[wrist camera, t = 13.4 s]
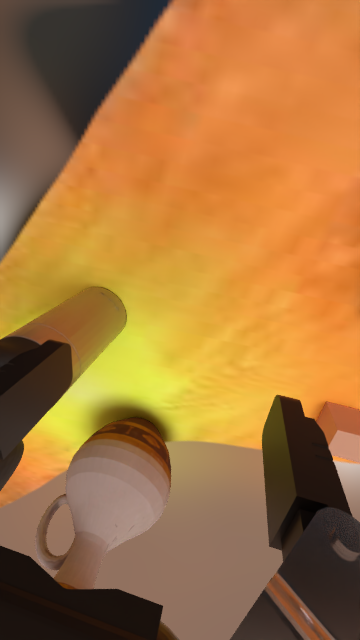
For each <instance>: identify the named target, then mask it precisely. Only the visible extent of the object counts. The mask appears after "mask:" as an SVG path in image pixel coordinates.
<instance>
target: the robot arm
mask: <svg viewBox="0 0 360 640" xmlns="http://www.w3.org/2000/svg"><path fill="white" fill-rule="evenodd" d="M125 324H126V311H125V308H124V305H123V304H122V302H121V301H120V299H119V298H118V297H117V296H116V295H115V294H113V293H112V292H111V291H109V290H107V289H104V288H101V287H91V288H88V289H85V290H84V291H82V292H80V293H79V294H77V295H75V296H74V297H72V298H70V299H68V300H67V301H65V302H63V303H62V304H60V305H58V306H56V307H55V308H53V309H51V310H50V311H48V312H46V313H45V314H43V315H41V316H40V317H38V318H36V319H34V320H33V321H31V322H29V323H28V324H26V325H24V326H23V327H21V328H19V329H18V330H16V331H14V332H13V333H11V334H9V335H8V336H6V337H4V338H3V339H1V340H0V491H1V489H2V488H3V487H4V485H5V484H6V483H7V481H8V480H9V478H10V477H11V476H12V474H13V472H14V471H15V469H16V468H17V466H18V464H19V462H20V460H21V458H22V455H23V451H24V444H23V441H22V439H23V438H24V437H25V436H26V435H27V434H28V433H29V431H30V430H31V429H32V428H33V427H34V426H35V425H36V424H37V423H38V422H39V420H40V419H41V418H42V417H43V416H44V415H45V414H46V413H47V412H48V411H49V410H50V409H51V408H52V407H53V406H54V405H55V404H56V403H57V401H58V400H59V399H60V398H61V397H62V396H63V395H64V394H65V393H66V391H67V390H68V389H69V388H70V387H71V386H72V385H73V384H74V383H75V381H76V380H77V379H78V378H79V377H80V376H81V375H82V374H83V373H84V371H85V370H86V369H87V368H88V367H89V366H90V365H91V364H92V363H93V362H94V361H95V359H96V358H97V357H98V356H99V355H100V354H101V353H102V352H103V351H104V350H105V348H106V347H107V346H108V345H109V344H110V343H111V342H112V341H113V340H114V339H115V338H116V336H117V335H118V334H119V333H120V332H121V331H122V330H123V328H124V327H125ZM262 450H263V464H264V478H265V492H266V506H267V521H268V534H269V546H270V547H273V548H276V549H279V550H282V554H283V563H282V565H281V566H280V568H279V569H278V571H277V572H276V574H275V575H274V577H273V578H271V580H270V581H269V583H268V584H267V586H266V587H265V588H264V590H263V591H262V593H261V594H260V596H259V597H258V599H257V600H256V602H255V603H254V605H253V606H252V608H251V609H250V611H249V612H248V613H247V615H246V616H245V618H244V619H243V621H242V622H241V624H240V625H239V627H238V628H237V630H236V631H235V633H234V634H233V636H232V637H231V639H230V640H360V522H359V521H357V520H356V519H355V518H354V517H353V516H352V514H351V512H350V508H349V506H348V502H347V500H346V496H345V494H344V491H343V488H342V485H341V482H340V479H339V476H338V473H337V470H336V467H335V464H334V462H333V458H332V455H331V452H330V450H329V446H328V443H327V440H326V437H325V434H324V432H323V431H322V429H321V428H320V427H319V425H318V424H317V423H316V421H315V420H314V419H312V418H308V417H305V416H304V412H303V408H302V405H301V402H300V400H297V399H293V398H289V397H285V396H281V395H276V397H275V399H274V401H273V404H272V406H271V409H270V412H269V414H268V417H267V420H266V422H265V425H264V429H263V435H262ZM162 609H163V606H162V605H159V604H156V603H154V602H151V601H148V600H145V599H143V598H140V597H138V596H135V595H132V594H129V593H127V592H124V591H121V590H119V589H66V588H64V587H62V586H61V585H60V584H59V583H58V582H57V581H55V580H54V579H53V578H52V577H51V576H50V575H49V574H48V573H47V572H46V571H45V570H44V569H42V568H41V567H40V566H39V565H38V564H37V563H36V562H35V561H34V560H33V559H32V558H31V557H29V556H26V555H24V554H21V553H19V552H16V551H13V550H10V549H8V548H5V547H2V546H0V640H179V639H178V638H177V637H176V635H175V634H174V633H173V632H172V631H171V630H170V629H169V628H168V627H167V626H166V625H164V623H162V622H161V621H160V619H161V614H162Z"/></svg>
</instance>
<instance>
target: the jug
mask: <svg viewBox="0 0 360 640" xmlns="http://www.w3.org/2000/svg"><path fill="white" fill-rule="evenodd" d="M170 487H171V465H170V459H169V452H168V449H167V447H166V445H165V442H164V440H163V438H162V436H161V435H160V433H159V431H158V430H157V428H156V427H155V426H154V425H153V424H152V423H151V422H150V421H148V420H146V419H143V418H139V417H133V418H128V419H123V420H119V421H116V422H112V423H110V424H108V425H106V426H105V427H103V428H102V429H100V430H99V431H97V432H96V433H94V434H93V435H92V436H91V437H90V438H89V439H88V440H87V441H86V442H85V443H84V444H83V445H82V446H81V447H80V449H79V450H78V451H77V452H76V454H75V455H74V457H73V459H72V461H71V463H70V466H69V468H68V470H67V474H66V494H64V495H61V496H59V497H58V498H56V499H55V500H54V501H53V503H52V504H51V505H50V506H49V507H48V508H47V510H46V512H45V513H44V515H43V516H42V518H41V520H40V523H39V525H38V528H37V533H36V540H35V547H36V553H37V557H38V559H39V561H40V563H41V564H42V565H43V566H45V567H46V568H48V569H51V570H59V571H58V572H57V574H56V576H55V577H54V578H53V579H54V580H55V581H57V582H58V583H59V584H60V585H61V586H62V587H64V588H66V589H94V585H95V581H96V578H97V574H98V571H99V568H100V565H101V562H102V560H103V558H104V556H105V555H106V553H107V552H108V551H110V550H111V549H113V548H115V547H116V546H118V545H120V544H121V543H123V542H124V541H127V540H129V539H131V538H133V537H136V536H138V535H139V534H141V533H143V532H145V531H147V530H148V529H149V528H150V527H151V526H152V525H153V524H154V523H155V522H156V521H157V520H158V519H159V518H160V516H161V515H162V513H163V511H164V508H165V506H166V504H167V502H168V498H169V492H170ZM63 504H68V506H69V508H70V511H71V514H72V520H73V525H74V531H75V538H74V541H73V543H72V545H71V547H70V549H69V550H68V552H67V553H66V554H64V555H61V556H54V555H52V554H51V553H50V552H49V550H48V548H47V543H46V534H47V528H48V525H49V522H50V520H51V518H52V516H53V515H54V513H55V512H56V511H57V509H58V508H59V507H60V506H61V505H63Z"/></svg>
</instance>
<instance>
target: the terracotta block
mask: <svg viewBox="0 0 360 640" xmlns="http://www.w3.org/2000/svg"><path fill="white" fill-rule="evenodd" d="M316 423H317V424H318V425H319V427H320V428H321V429H322V431H323V432H324V434H325V437H326V440H327V443H328V446H329V450H330V452H331V455H333V456H336V457H340V458H344V459H347V460H351V461H355V462H359V463H360V411H359V409H355V408H351V407H347V406H342V405H338V404H334V403H330V402H326V403H325V405H324V407H323V409H322V411H321V413H320V415H319V417H318V419H317V421H316Z"/></svg>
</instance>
